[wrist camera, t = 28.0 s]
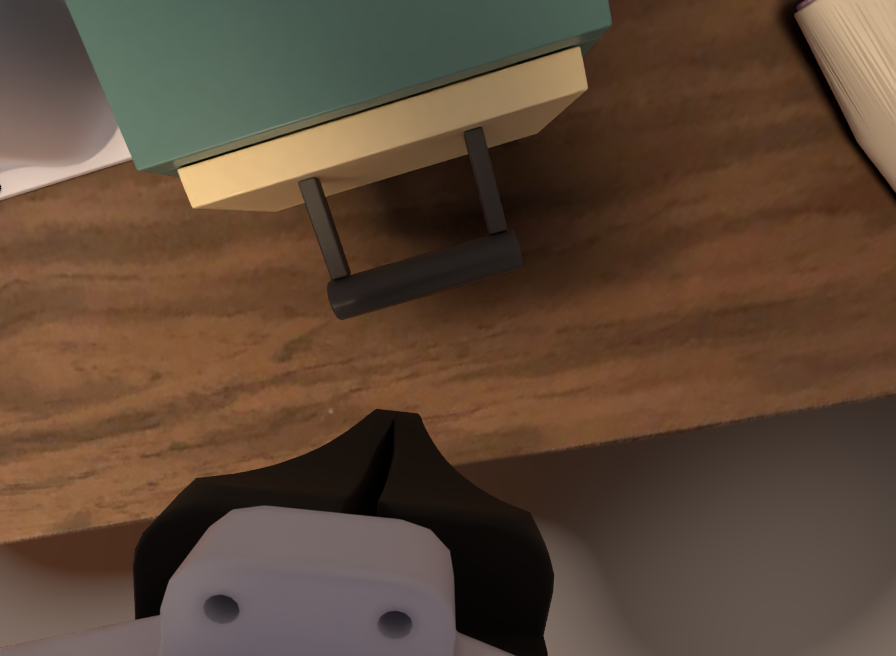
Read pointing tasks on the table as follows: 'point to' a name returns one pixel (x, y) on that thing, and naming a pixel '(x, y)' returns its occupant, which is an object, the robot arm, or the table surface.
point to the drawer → (398, 172)
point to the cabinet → (298, 61)
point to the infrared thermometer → (859, 68)
